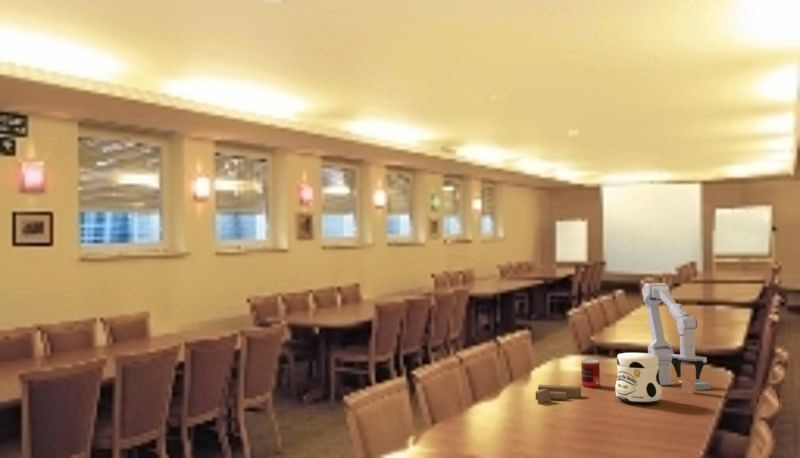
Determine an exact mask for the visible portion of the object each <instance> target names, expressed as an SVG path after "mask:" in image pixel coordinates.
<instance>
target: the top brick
mask: <svg viewBox="0 0 800 458" xmlns="http://www.w3.org/2000/svg"><path fill="white" fill-rule="evenodd" d="M695 380H696V379H695ZM695 380H694V379H688V378H687V379H685V378H684V379H683V380H681V381H682V382H681V393H682V394H687V393H688V394H689V395H693V394H695V393H696V390H695ZM688 394H687V395H688Z"/></svg>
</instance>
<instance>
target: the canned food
mask: <svg viewBox="0 0 800 458" xmlns="http://www.w3.org/2000/svg"><path fill="white" fill-rule="evenodd" d="M580 367H581V385H582V387H583V386H584V388H587V387H588V388H589V389H596V388H599V387H600V386H601V382H600V381H601V379H600V377H601V375H600V374H601V373H600V372H601V371H600V369H601V368H600V360H598V359H591V358H590V359H589V358H587V359H582V360H581V366H580Z"/></svg>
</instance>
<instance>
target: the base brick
mask: <svg viewBox="0 0 800 458" xmlns="http://www.w3.org/2000/svg"><path fill="white" fill-rule="evenodd" d="M705 389H710V390H711V383H710V382H707V381H704V380H703V379H698V380H696V379H695V391H706V390H705Z"/></svg>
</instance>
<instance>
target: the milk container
mask: <svg viewBox="0 0 800 458" xmlns="http://www.w3.org/2000/svg"><path fill="white" fill-rule="evenodd" d="M616 364H617V366H616V369H617V373H616V374H617V378H616V382H615V387H614V388H615V395H616V397H617V398H618V400H620V401H622V402H625V403H629V404H636V405H638V404H639V405H644V404H645V405H647V404H648V405H649V404H654V403H658V402H659V401H660V400H661V399H662V392H663V389H662V385H661V384H660V381H659V361H658V356H657V355H653V354H648V352H623V353H618V354H617V357H616Z"/></svg>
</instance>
